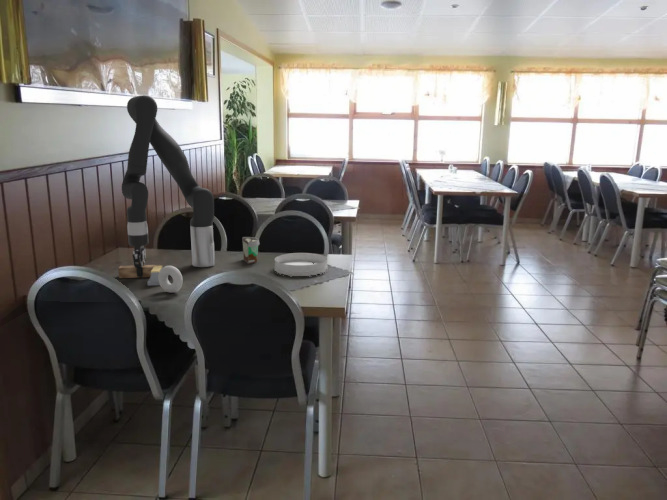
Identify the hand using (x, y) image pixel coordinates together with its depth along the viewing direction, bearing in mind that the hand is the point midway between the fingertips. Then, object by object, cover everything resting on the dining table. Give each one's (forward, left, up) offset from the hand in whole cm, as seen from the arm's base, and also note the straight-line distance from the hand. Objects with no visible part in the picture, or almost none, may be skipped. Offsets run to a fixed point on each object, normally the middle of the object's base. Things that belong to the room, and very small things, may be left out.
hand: (141, 274), depth 219 cm
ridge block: (-8, +10, 0) cm, 13 cm away
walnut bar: (0, 0, 0) cm, 0 cm away
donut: (-15, +24, -1) cm, 28 cm away
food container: (-44, -19, -1) cm, 48 cm away
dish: (-64, -2, -1) cm, 64 cm away
